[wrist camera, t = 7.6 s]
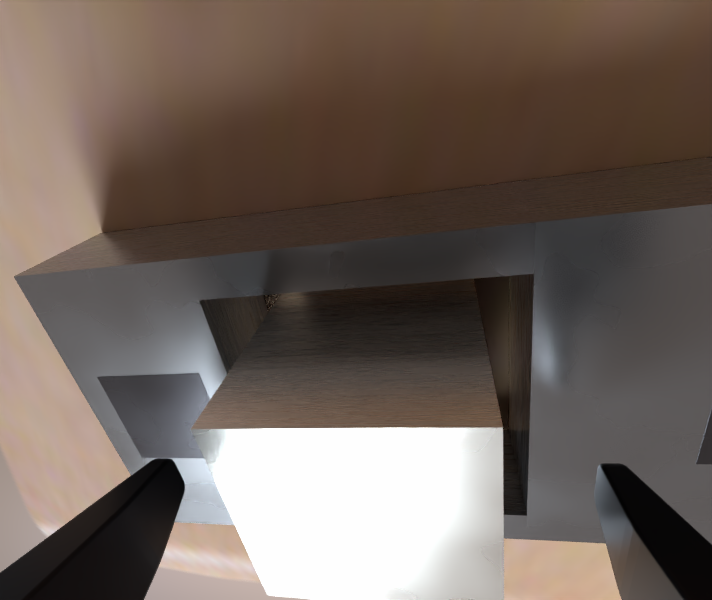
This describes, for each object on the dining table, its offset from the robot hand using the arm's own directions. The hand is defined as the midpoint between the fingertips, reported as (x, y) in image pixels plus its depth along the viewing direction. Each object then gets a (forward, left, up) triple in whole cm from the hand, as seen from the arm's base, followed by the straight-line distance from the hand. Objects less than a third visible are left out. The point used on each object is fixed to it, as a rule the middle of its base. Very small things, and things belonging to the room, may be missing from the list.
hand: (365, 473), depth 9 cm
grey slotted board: (-2, 0, -5) cm, 5 cm away
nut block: (0, 0, -5) cm, 5 cm away
